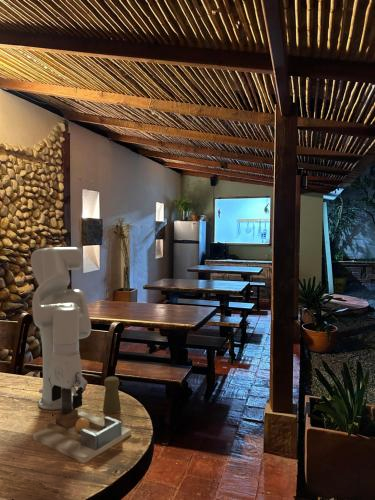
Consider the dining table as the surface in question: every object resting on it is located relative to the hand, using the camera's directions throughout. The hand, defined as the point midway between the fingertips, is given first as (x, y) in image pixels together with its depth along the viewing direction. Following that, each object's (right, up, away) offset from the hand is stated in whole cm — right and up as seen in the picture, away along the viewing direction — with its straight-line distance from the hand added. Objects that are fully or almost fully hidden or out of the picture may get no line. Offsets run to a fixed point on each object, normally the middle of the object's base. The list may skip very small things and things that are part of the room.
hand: (66, 403), depth 119 cm
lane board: (+6, -8, -4) cm, 11 cm away
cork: (+11, -8, +15) cm, 20 cm away
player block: (0, -7, 0) cm, 7 cm away
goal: (+12, -7, -8) cm, 16 cm away
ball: (+6, -5, -4) cm, 8 cm away
